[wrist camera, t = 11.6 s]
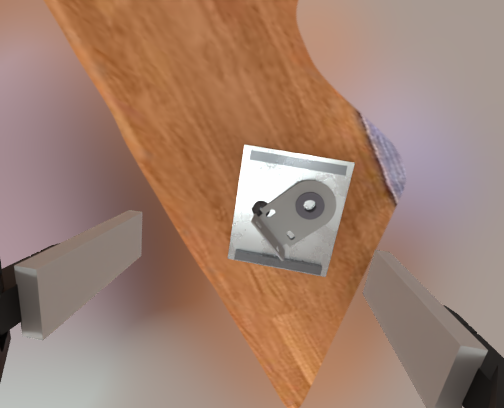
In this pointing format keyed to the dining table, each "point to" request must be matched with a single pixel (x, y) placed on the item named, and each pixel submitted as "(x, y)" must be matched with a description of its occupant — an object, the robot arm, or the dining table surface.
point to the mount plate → (262, 193)
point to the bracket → (295, 214)
